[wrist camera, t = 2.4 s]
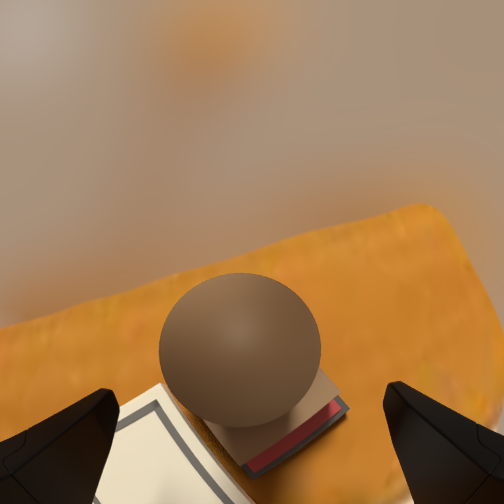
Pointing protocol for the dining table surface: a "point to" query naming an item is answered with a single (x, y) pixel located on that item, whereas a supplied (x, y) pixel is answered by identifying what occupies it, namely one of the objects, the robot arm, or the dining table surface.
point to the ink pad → (296, 439)
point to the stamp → (245, 361)
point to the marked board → (163, 459)
